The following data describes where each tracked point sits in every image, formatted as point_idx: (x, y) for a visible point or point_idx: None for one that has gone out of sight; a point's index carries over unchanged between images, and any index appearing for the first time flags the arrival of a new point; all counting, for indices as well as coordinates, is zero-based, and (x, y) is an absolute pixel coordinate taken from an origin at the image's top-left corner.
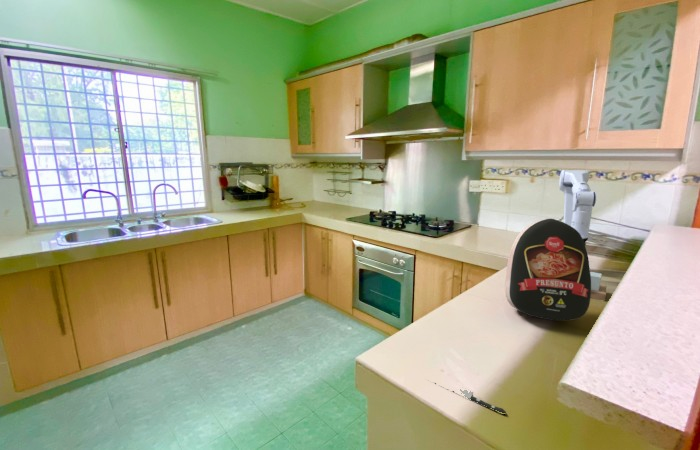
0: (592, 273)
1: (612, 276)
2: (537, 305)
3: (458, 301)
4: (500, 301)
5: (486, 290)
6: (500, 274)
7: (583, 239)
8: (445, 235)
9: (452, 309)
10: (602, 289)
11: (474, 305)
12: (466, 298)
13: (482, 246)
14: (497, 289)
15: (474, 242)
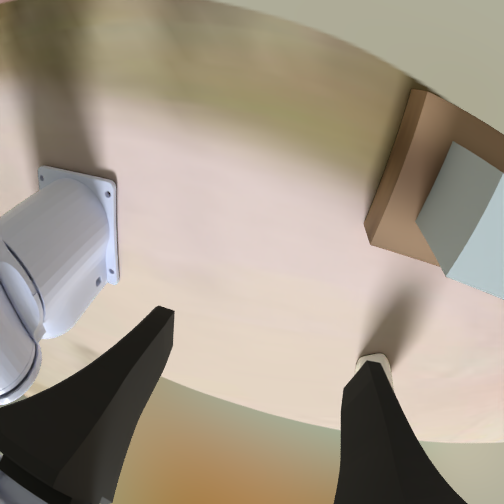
0: (502, 243)
1: (71, 8)
2: None
3: (477, 440)
4: (491, 407)
5: (433, 430)
6: (297, 418)
7: (78, 476)
8: None
9: (500, 436)
10: (488, 144)
11: (496, 425)
12: (468, 438)
13: (53, 385)
14: (427, 420)
15: (41, 387)
